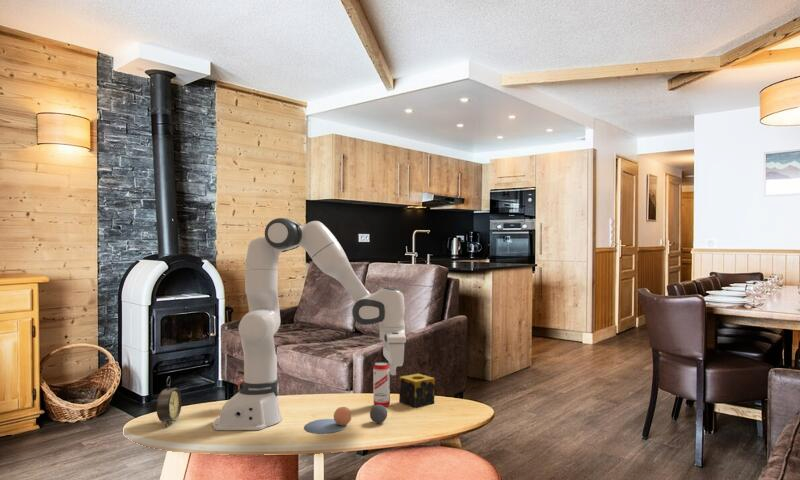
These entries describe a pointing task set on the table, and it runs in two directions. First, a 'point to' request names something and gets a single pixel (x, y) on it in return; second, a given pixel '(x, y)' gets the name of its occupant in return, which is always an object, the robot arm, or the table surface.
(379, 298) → the robot arm
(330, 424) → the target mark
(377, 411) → the gray ball
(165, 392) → the alarm clock
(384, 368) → the beer can
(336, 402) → the table surface
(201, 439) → the table surface
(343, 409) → the terracotta egg
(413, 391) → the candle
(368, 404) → the table surface
